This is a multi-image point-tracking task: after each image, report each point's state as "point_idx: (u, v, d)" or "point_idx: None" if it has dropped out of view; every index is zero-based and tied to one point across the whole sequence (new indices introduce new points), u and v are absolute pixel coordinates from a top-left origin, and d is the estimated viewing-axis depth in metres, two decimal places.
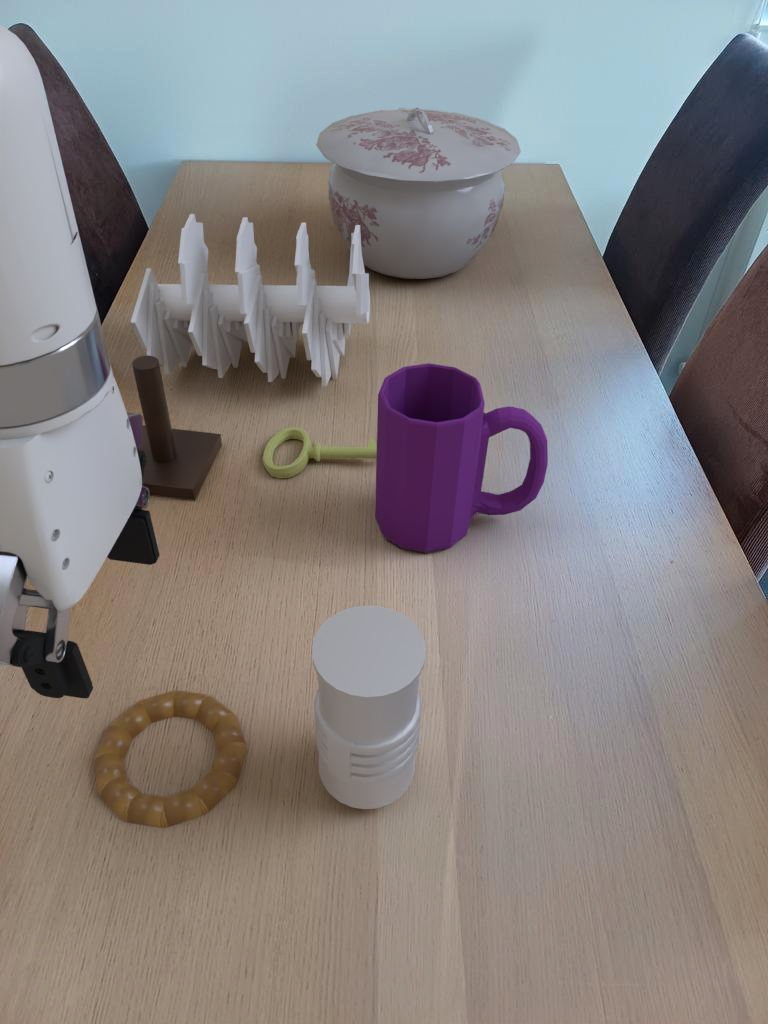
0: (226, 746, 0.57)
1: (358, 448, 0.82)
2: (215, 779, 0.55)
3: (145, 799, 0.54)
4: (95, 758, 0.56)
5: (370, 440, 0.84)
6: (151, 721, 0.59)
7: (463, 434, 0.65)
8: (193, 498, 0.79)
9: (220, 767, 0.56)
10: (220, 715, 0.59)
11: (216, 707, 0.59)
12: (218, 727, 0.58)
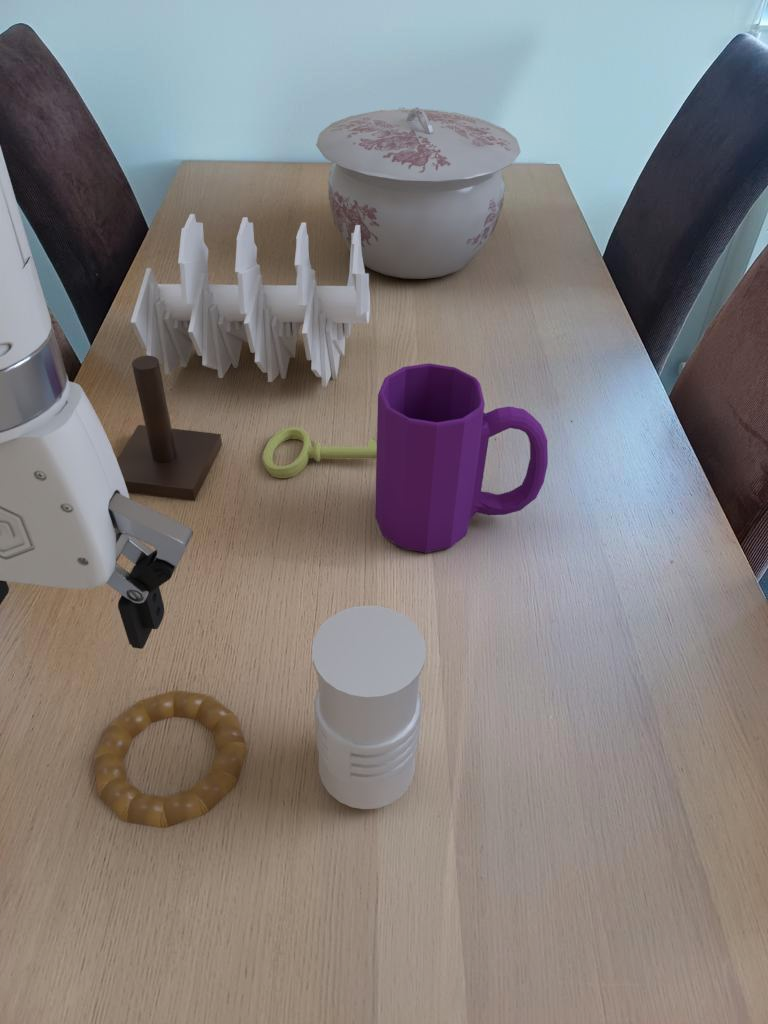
0: (226, 746, 0.57)
1: (358, 448, 0.82)
2: (215, 779, 0.55)
3: (145, 799, 0.54)
4: (95, 758, 0.56)
5: (370, 440, 0.84)
6: (151, 721, 0.59)
7: (463, 434, 0.65)
8: (193, 498, 0.79)
9: (220, 767, 0.56)
10: (220, 715, 0.59)
11: (216, 707, 0.59)
12: (218, 727, 0.58)
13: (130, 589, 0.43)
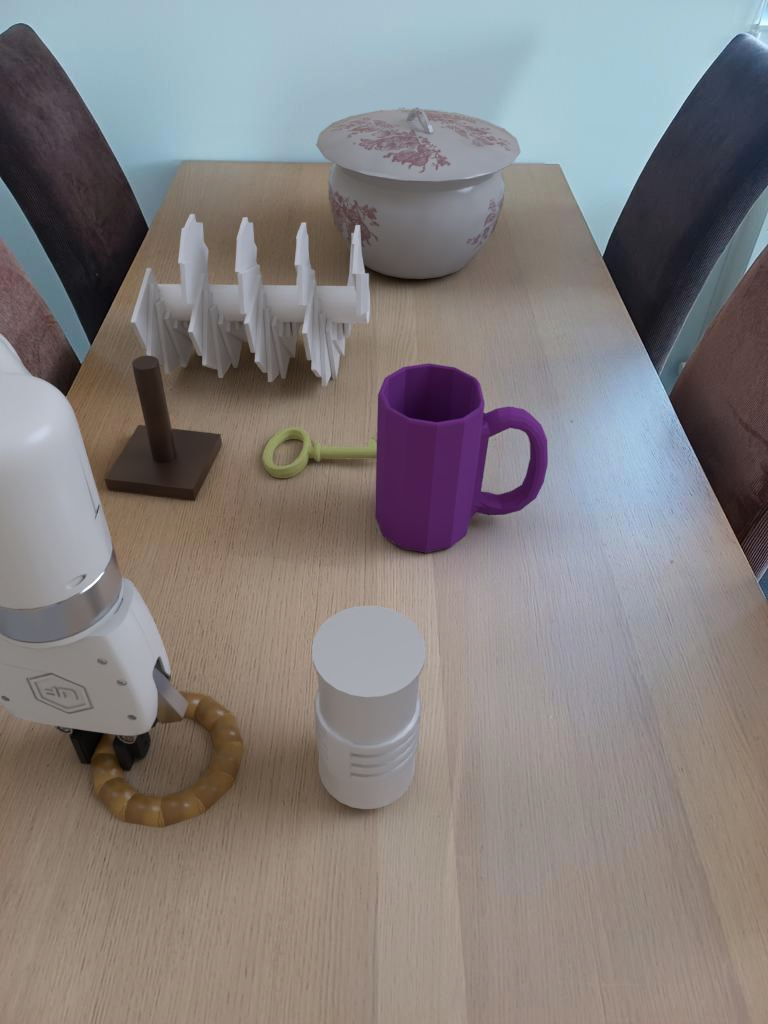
0: (224, 746, 0.57)
1: (358, 448, 0.82)
2: (212, 779, 0.55)
3: (142, 799, 0.54)
4: (92, 758, 0.56)
5: (370, 440, 0.84)
6: None
7: (463, 434, 0.65)
8: (193, 498, 0.79)
9: (217, 767, 0.56)
10: (217, 715, 0.59)
11: (214, 707, 0.59)
12: (215, 727, 0.58)
13: None
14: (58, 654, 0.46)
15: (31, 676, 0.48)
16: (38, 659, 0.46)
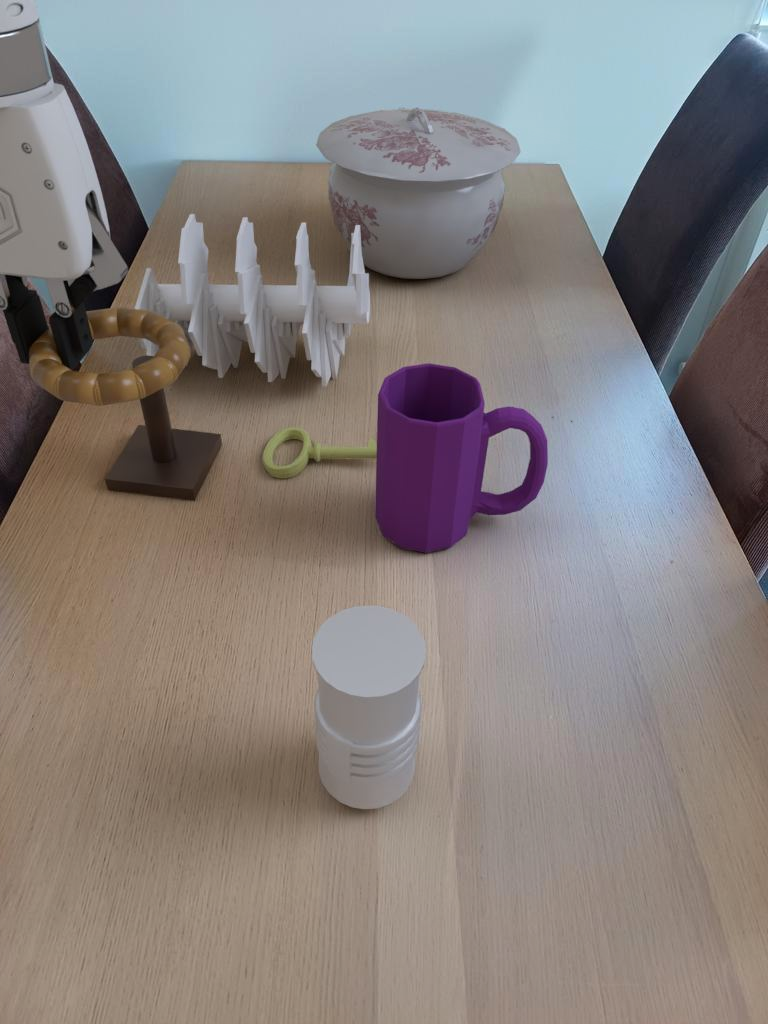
0: (168, 342, 0.54)
1: (358, 448, 0.82)
2: (154, 362, 0.52)
3: (78, 372, 0.51)
4: (30, 347, 0.54)
5: (370, 440, 0.84)
6: (93, 330, 0.57)
7: (463, 434, 0.65)
8: (193, 498, 0.79)
9: (160, 355, 0.53)
10: (164, 322, 0.56)
11: (161, 317, 0.57)
12: (162, 331, 0.56)
13: (63, 302, 0.51)
14: None
15: None
16: None
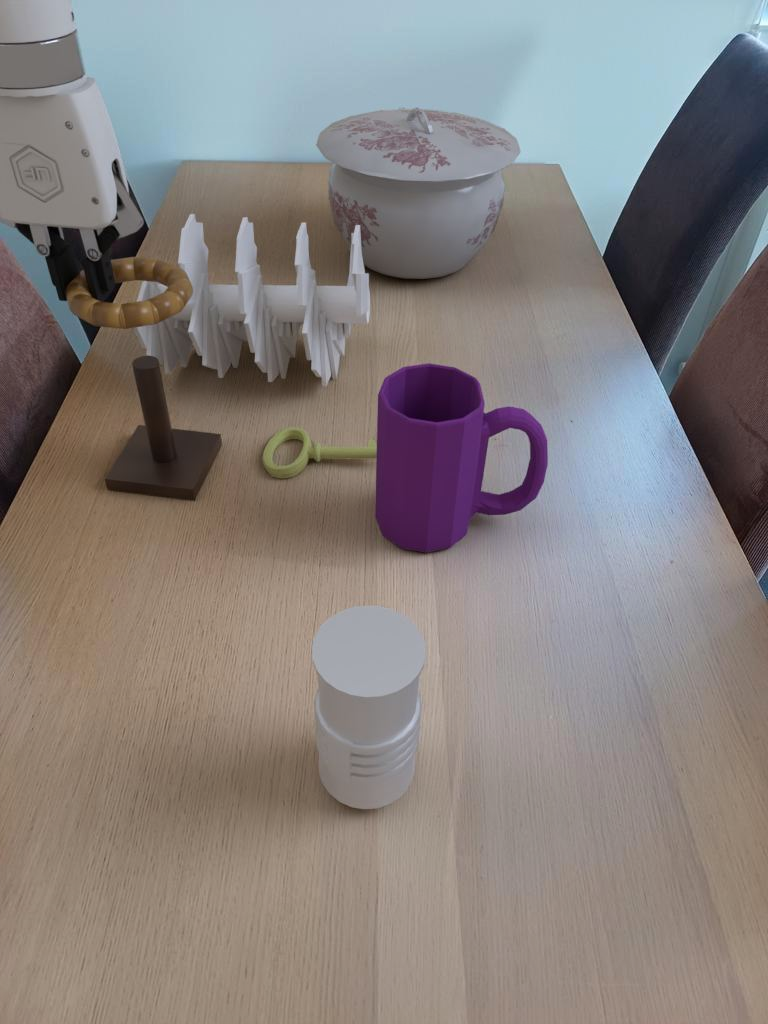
0: (175, 281, 0.69)
1: (358, 448, 0.82)
2: (165, 295, 0.67)
3: (107, 303, 0.66)
4: (67, 287, 0.68)
5: (370, 440, 0.84)
6: (115, 275, 0.71)
7: (463, 434, 0.65)
8: (193, 498, 0.79)
9: (169, 290, 0.68)
10: (172, 267, 0.71)
11: (169, 263, 0.71)
12: (170, 273, 0.70)
13: (93, 248, 0.66)
14: (33, 118, 0.58)
15: (13, 153, 0.60)
16: (19, 127, 0.58)
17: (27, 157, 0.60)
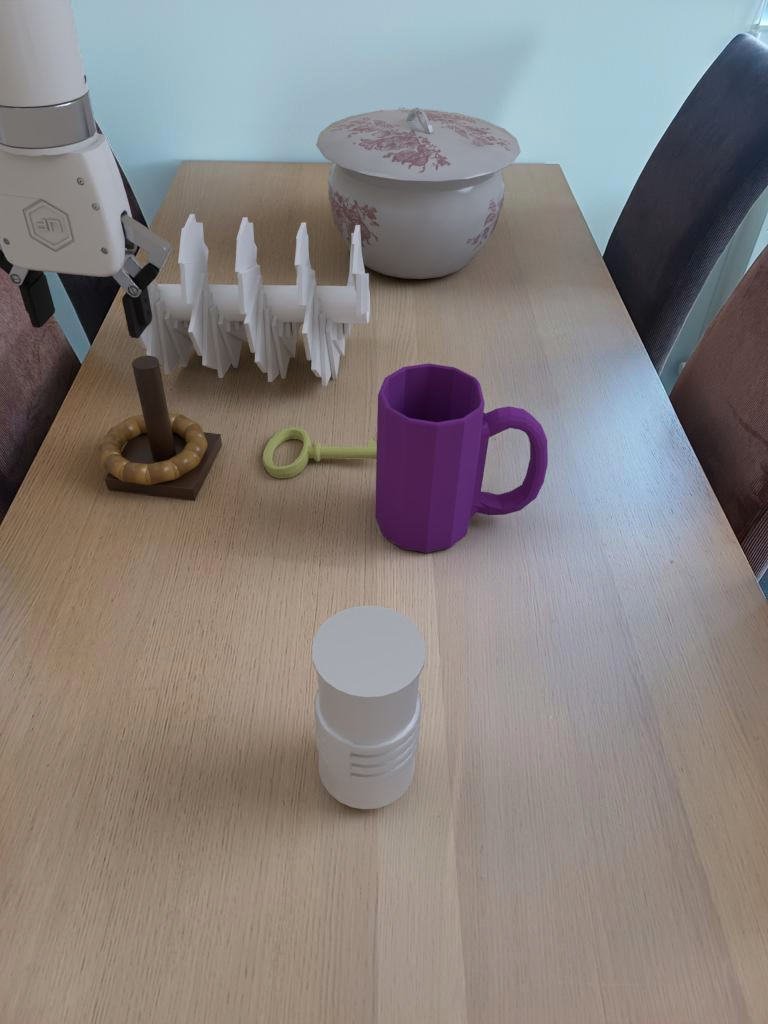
0: (192, 438, 0.81)
1: (358, 448, 0.82)
2: (184, 454, 0.79)
3: (135, 463, 0.77)
4: (100, 445, 0.80)
5: (370, 440, 0.84)
6: (139, 429, 0.83)
7: (463, 434, 0.65)
8: (193, 498, 0.79)
9: (188, 448, 0.79)
10: (189, 423, 0.82)
11: (186, 419, 0.83)
12: (187, 430, 0.82)
13: (130, 285, 0.67)
14: (47, 174, 0.60)
15: (26, 206, 0.62)
16: (32, 182, 0.61)
17: (40, 210, 0.62)
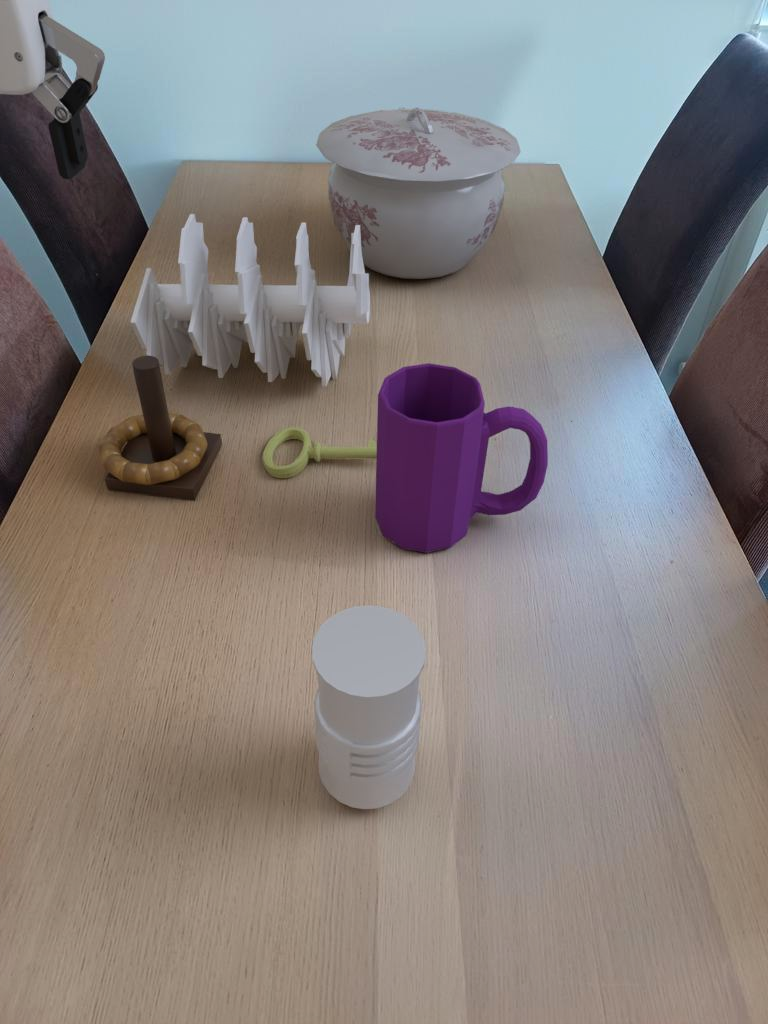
0: (192, 438, 0.81)
1: (358, 448, 0.82)
2: (184, 454, 0.79)
3: (135, 463, 0.77)
4: (100, 445, 0.80)
5: (370, 440, 0.84)
6: (139, 429, 0.83)
7: (463, 434, 0.65)
8: (193, 498, 0.79)
9: (188, 448, 0.79)
10: (189, 423, 0.82)
11: (186, 419, 0.83)
12: (187, 430, 0.82)
13: (57, 106, 0.56)
14: None
15: None
16: None
17: None
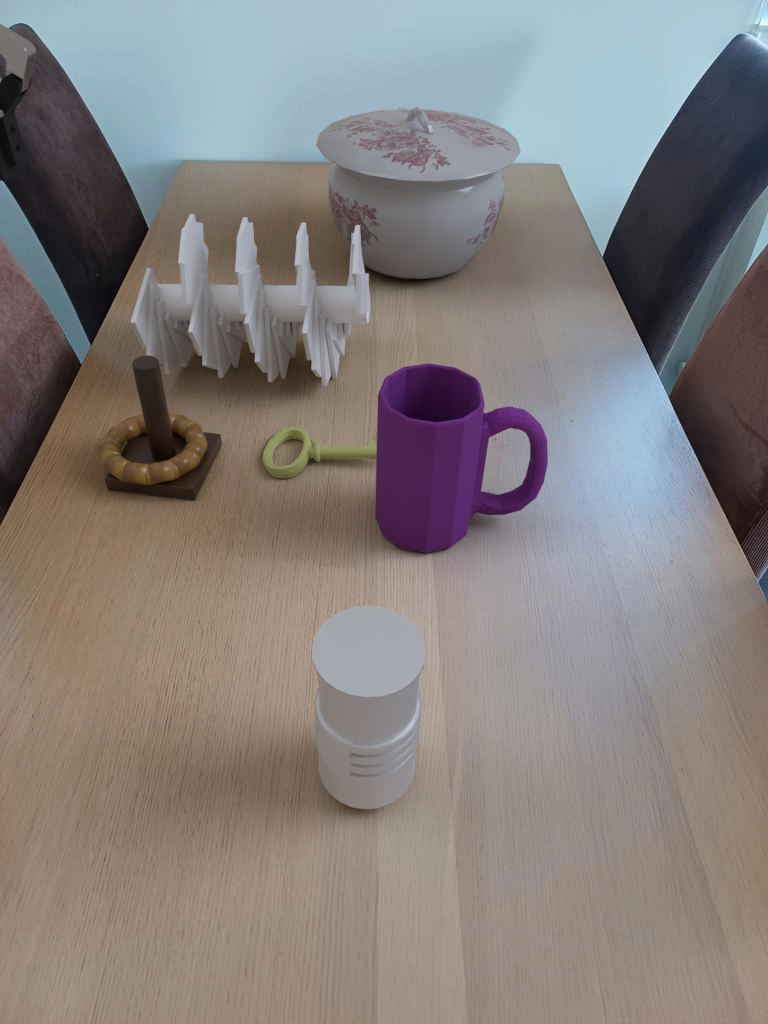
0: (192, 438, 0.81)
1: (358, 448, 0.82)
2: (184, 454, 0.79)
3: (135, 463, 0.77)
4: (100, 445, 0.80)
5: (370, 440, 0.84)
6: (139, 429, 0.83)
7: (463, 434, 0.65)
8: (193, 498, 0.79)
9: (188, 448, 0.79)
10: (189, 423, 0.82)
11: (186, 419, 0.83)
12: (187, 430, 0.82)
13: None
14: None
15: None
16: None
17: None
